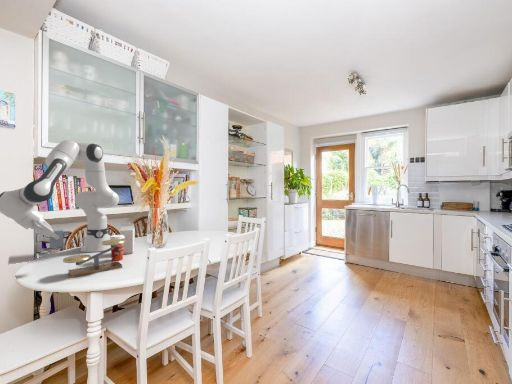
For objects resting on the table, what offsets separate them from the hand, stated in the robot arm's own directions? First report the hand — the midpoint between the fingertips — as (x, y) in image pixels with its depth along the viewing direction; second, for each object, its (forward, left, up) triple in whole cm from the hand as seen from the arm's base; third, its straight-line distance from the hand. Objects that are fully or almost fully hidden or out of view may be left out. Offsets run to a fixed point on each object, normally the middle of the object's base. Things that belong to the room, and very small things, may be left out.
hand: (58, 237), depth 127 cm
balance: (+13, +14, -17) cm, 26 cm away
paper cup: (0, +27, -17) cm, 32 cm away
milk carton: (-12, +36, -17) cm, 42 cm away
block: (0, -1, -4) cm, 4 cm away
